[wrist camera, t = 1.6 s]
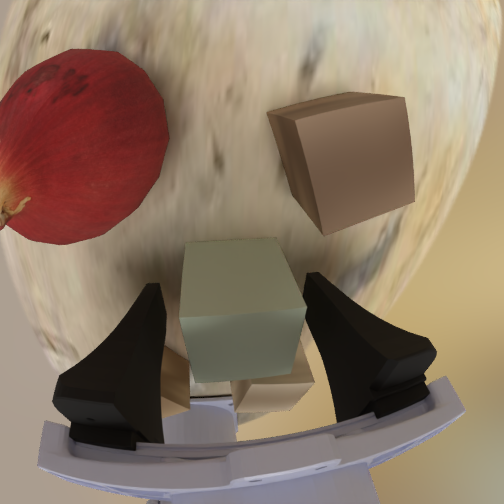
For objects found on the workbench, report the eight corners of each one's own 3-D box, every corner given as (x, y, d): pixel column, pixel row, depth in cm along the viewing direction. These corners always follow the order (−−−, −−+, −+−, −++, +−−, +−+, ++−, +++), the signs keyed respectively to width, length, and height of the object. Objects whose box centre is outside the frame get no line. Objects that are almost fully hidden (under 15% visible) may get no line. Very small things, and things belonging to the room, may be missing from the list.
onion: (38, 120, 8) (-96, 184, 1) (136, 35, 7) (27, -35, 1) (102, 213, 11) (23, 351, 5) (205, 143, 10) (201, 241, 4)
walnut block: (365, 170, 12) (414, 201, 9) (291, 194, 12) (323, 236, 9) (349, 91, 10) (404, 97, 7) (266, 112, 10) (294, 120, 7)
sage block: (269, 302, 16) (290, 373, 12) (194, 308, 15) (195, 383, 11) (275, 236, 13) (307, 307, 9) (185, 241, 13) (178, 317, 9)
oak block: (189, 360, 18) (190, 409, 15) (153, 377, 19) (150, 421, 15) (147, 332, 16) (140, 385, 12) (113, 352, 17) (104, 400, 13)
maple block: (278, 367, 20) (289, 410, 17) (228, 365, 19) (234, 412, 15) (298, 334, 18) (315, 382, 15) (242, 331, 17) (251, 384, 14)
